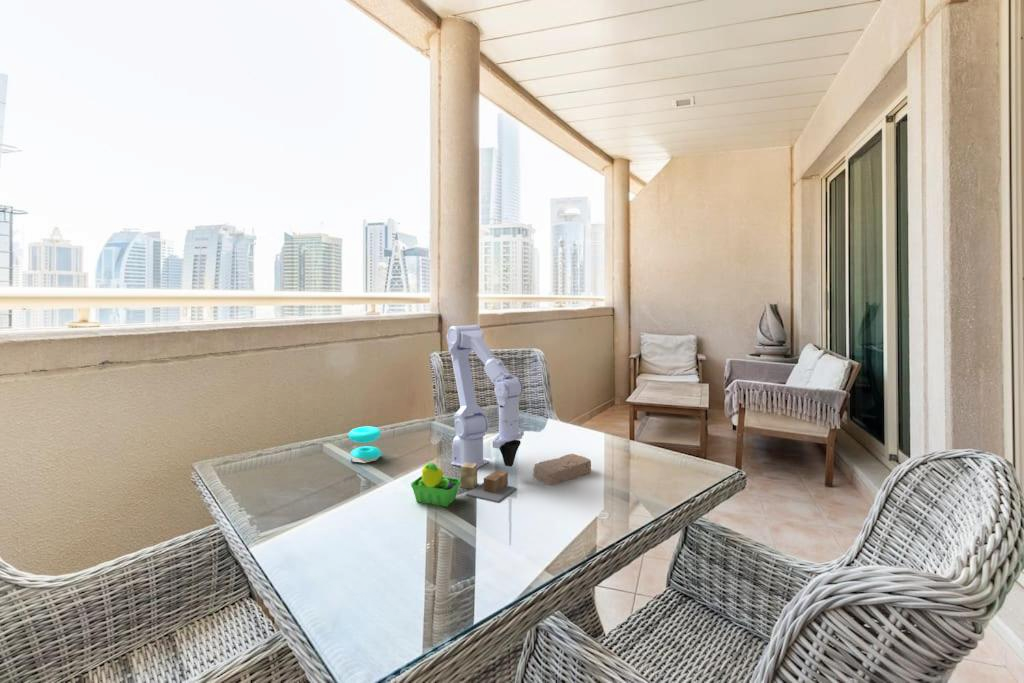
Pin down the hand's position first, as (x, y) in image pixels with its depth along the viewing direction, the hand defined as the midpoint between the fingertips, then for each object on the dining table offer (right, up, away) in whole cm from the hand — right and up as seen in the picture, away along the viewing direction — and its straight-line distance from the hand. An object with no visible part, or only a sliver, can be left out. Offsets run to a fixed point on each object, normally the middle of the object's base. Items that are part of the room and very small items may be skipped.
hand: (508, 465), depth 144 cm
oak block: (-11, -5, -3) cm, 13 cm away
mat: (-5, -5, -8) cm, 11 cm away
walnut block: (-2, -3, -3) cm, 4 cm away
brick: (+16, -4, +4) cm, 17 cm away
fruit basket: (-19, -6, -14) cm, 24 cm away
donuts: (-47, -3, +19) cm, 51 cm away
